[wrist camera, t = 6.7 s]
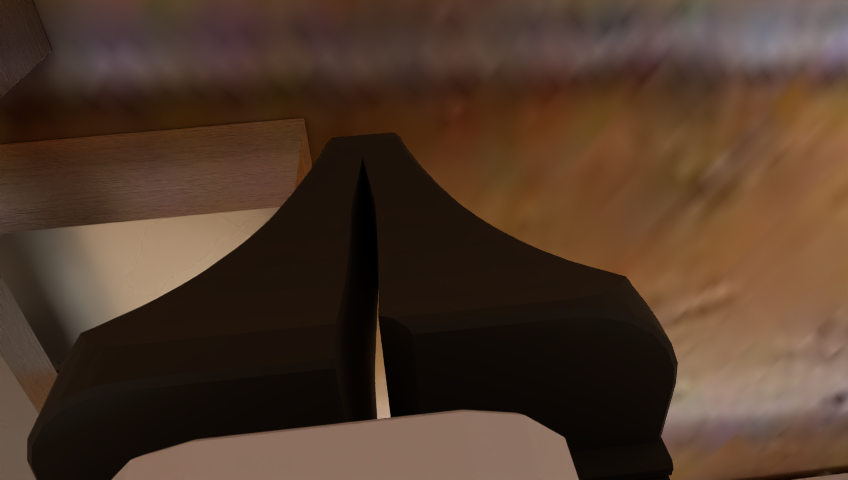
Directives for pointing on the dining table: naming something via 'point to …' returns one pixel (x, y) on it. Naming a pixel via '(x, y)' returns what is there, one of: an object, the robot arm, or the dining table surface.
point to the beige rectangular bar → (133, 216)
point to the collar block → (3, 320)
